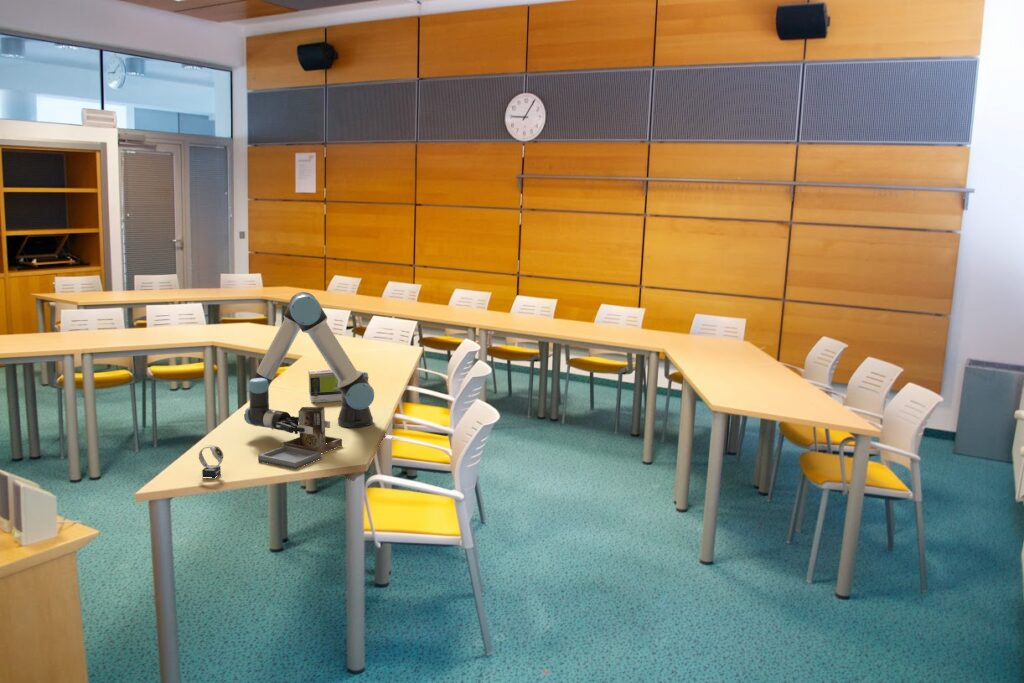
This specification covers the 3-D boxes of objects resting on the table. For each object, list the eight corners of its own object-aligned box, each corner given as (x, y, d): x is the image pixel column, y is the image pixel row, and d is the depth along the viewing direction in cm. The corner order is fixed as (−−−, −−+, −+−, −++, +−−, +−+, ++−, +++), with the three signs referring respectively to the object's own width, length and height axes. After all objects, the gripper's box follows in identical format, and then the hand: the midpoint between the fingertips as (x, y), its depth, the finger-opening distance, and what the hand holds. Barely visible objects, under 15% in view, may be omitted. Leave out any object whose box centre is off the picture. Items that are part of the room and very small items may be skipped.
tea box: (339, 396, 398) (339, 368, 396) (342, 401, 389) (341, 372, 387) (309, 398, 394) (308, 369, 391) (310, 403, 384) (309, 373, 382)
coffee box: (326, 445, 316) (325, 406, 313) (322, 450, 309) (321, 410, 307) (303, 445, 315) (301, 406, 313) (299, 450, 309) (298, 410, 306)
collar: (310, 440, 323) (310, 433, 322) (341, 446, 316) (341, 438, 315) (283, 450, 309) (282, 443, 308) (314, 456, 302) (314, 449, 301)
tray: (285, 451, 307) (284, 445, 307) (321, 459, 299) (321, 452, 299) (258, 461, 295) (258, 455, 294) (295, 469, 287) (295, 462, 286)
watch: (220, 479, 275) (219, 448, 274) (197, 478, 275) (195, 448, 274) (226, 473, 281) (225, 443, 279) (203, 473, 281) (202, 443, 279)
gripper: (297, 422, 329) (339, 430, 319) (257, 435, 310) (301, 444, 300) (296, 405, 328) (339, 412, 318) (257, 417, 309) (301, 424, 298)
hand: (320, 427), depth 309 cm, fingers closed on coffee box, 9 cm apart
